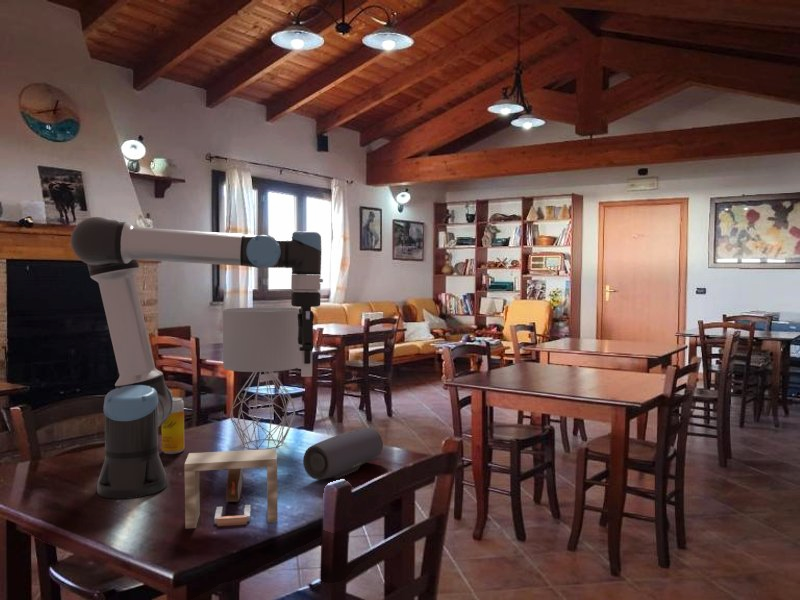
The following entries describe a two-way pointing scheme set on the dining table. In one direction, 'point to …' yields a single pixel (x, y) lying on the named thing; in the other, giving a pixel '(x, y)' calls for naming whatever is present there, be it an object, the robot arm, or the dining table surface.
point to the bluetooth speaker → (342, 453)
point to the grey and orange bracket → (232, 517)
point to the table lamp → (261, 353)
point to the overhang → (228, 461)
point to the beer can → (174, 429)
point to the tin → (234, 484)
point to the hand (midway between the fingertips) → (304, 372)
